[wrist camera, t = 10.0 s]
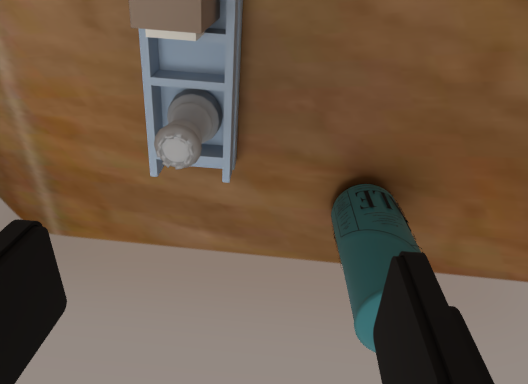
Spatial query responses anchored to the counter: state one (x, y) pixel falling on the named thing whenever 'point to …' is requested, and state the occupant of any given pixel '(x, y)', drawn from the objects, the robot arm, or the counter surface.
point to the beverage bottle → (368, 249)
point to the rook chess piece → (187, 128)
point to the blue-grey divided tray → (191, 67)
